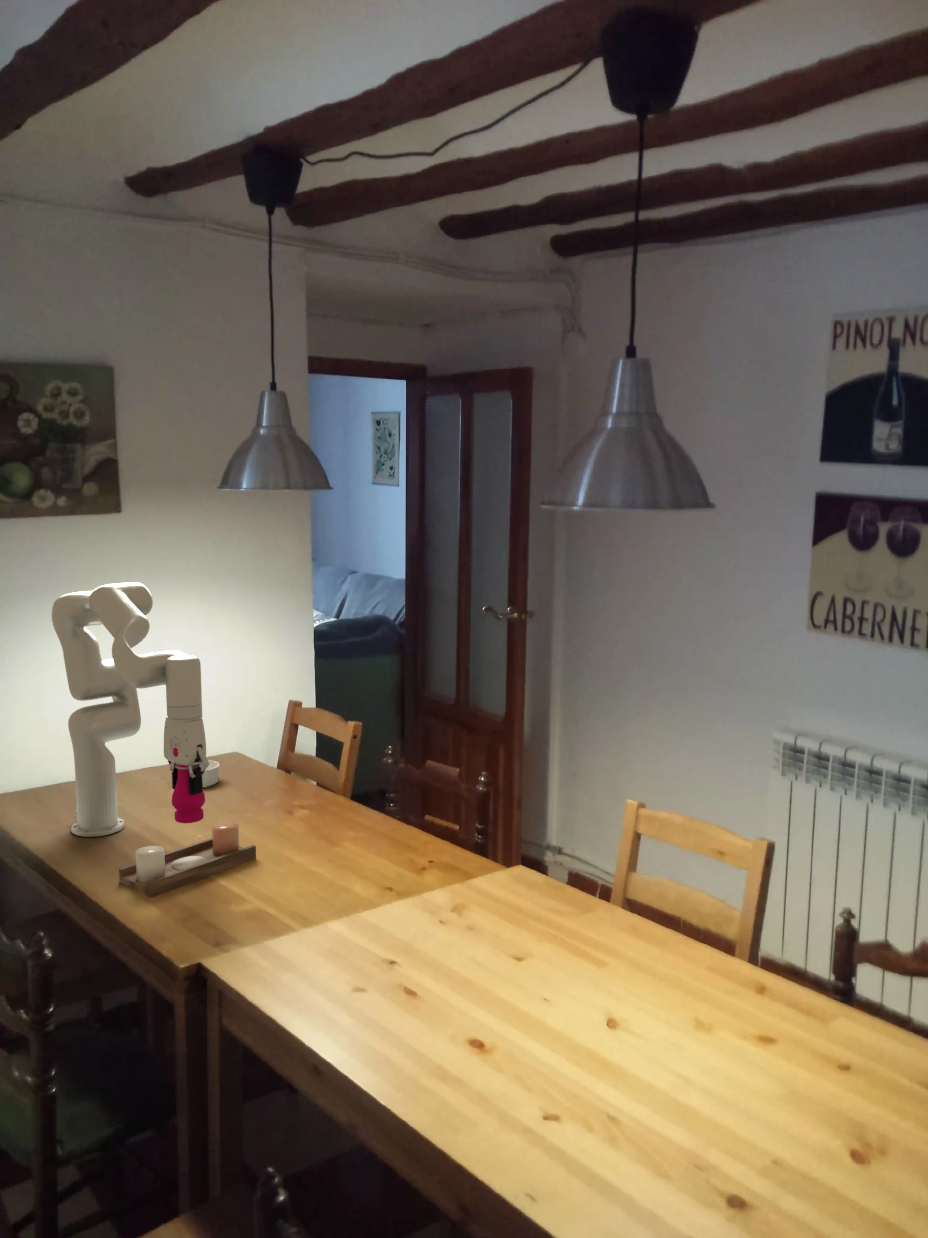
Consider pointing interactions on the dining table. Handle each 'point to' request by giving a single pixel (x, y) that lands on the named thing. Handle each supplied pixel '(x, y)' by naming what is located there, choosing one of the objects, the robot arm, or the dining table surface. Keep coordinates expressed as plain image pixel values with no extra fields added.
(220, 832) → the pink pillar candle
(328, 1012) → the dining table surface
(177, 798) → the pepper mill
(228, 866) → the rail
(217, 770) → the saucepan
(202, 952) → the dining table surface
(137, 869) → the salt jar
